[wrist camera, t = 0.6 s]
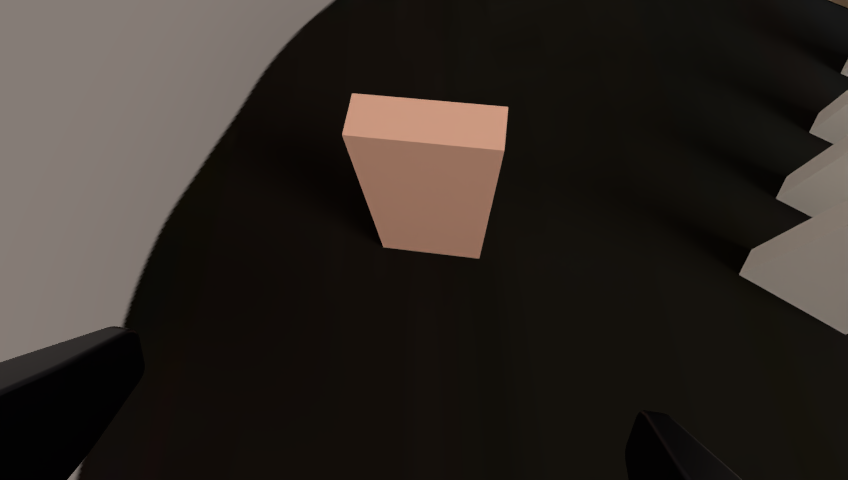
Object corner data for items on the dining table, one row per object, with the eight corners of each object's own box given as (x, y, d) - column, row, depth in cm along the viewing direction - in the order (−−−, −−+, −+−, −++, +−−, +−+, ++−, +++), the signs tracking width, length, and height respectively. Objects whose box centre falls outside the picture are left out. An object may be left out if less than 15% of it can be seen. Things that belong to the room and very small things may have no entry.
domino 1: (479, 258, 22) (504, 150, 13) (383, 247, 23) (342, 135, 14) (482, 229, 23) (508, 107, 14) (388, 219, 23) (352, 93, 14)
